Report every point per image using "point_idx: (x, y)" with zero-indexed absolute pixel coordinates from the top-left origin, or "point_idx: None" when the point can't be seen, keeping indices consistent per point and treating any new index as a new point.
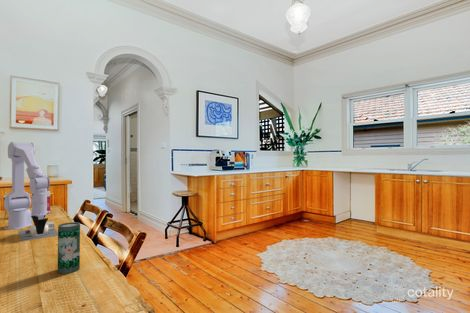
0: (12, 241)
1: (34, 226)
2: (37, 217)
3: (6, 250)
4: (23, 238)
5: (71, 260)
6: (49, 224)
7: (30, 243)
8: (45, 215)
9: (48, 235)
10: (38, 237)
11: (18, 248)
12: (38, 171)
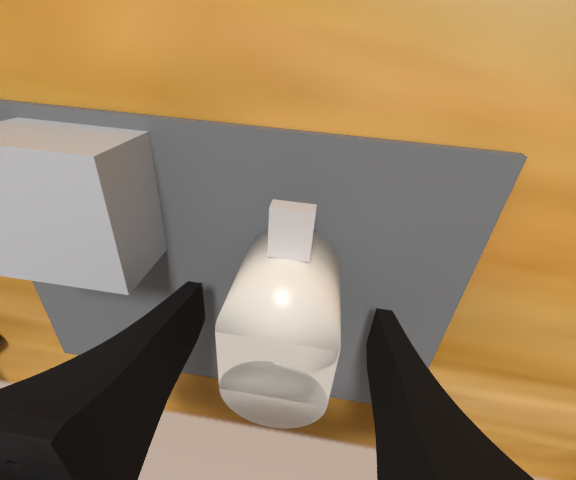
0: (332, 417)
1: (260, 399)
2: (117, 468)
3: (530, 472)
4: (332, 384)
5: None
6: (111, 217)
7: (510, 381)
8: (67, 422)
9: (404, 248)
10: (403, 323)
11: (562, 441)
12: None
